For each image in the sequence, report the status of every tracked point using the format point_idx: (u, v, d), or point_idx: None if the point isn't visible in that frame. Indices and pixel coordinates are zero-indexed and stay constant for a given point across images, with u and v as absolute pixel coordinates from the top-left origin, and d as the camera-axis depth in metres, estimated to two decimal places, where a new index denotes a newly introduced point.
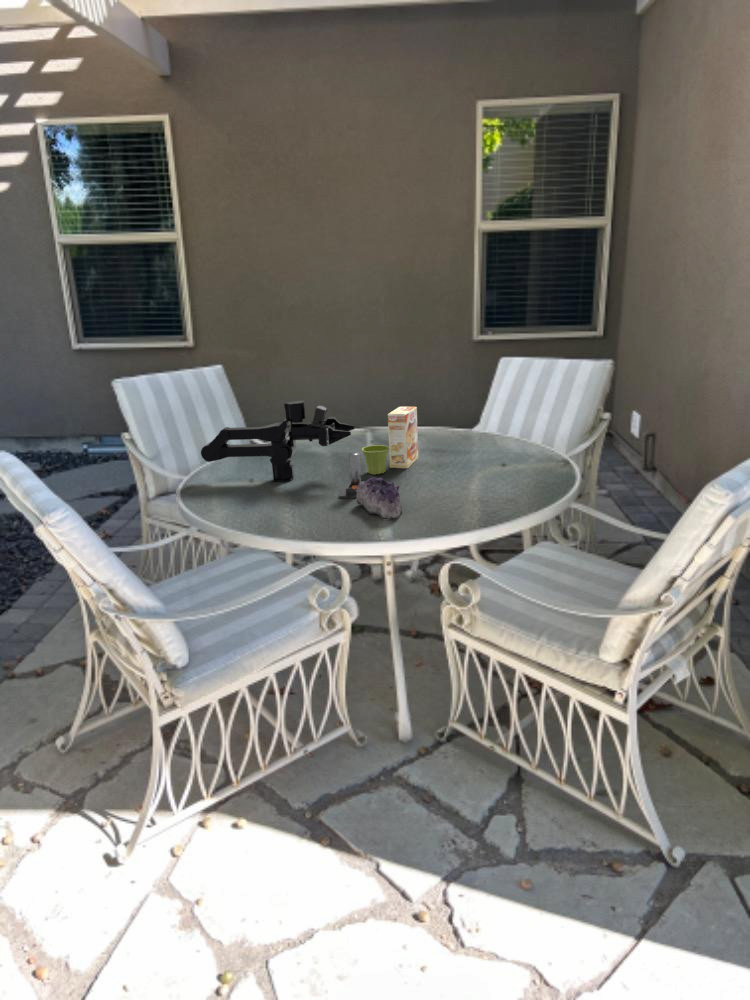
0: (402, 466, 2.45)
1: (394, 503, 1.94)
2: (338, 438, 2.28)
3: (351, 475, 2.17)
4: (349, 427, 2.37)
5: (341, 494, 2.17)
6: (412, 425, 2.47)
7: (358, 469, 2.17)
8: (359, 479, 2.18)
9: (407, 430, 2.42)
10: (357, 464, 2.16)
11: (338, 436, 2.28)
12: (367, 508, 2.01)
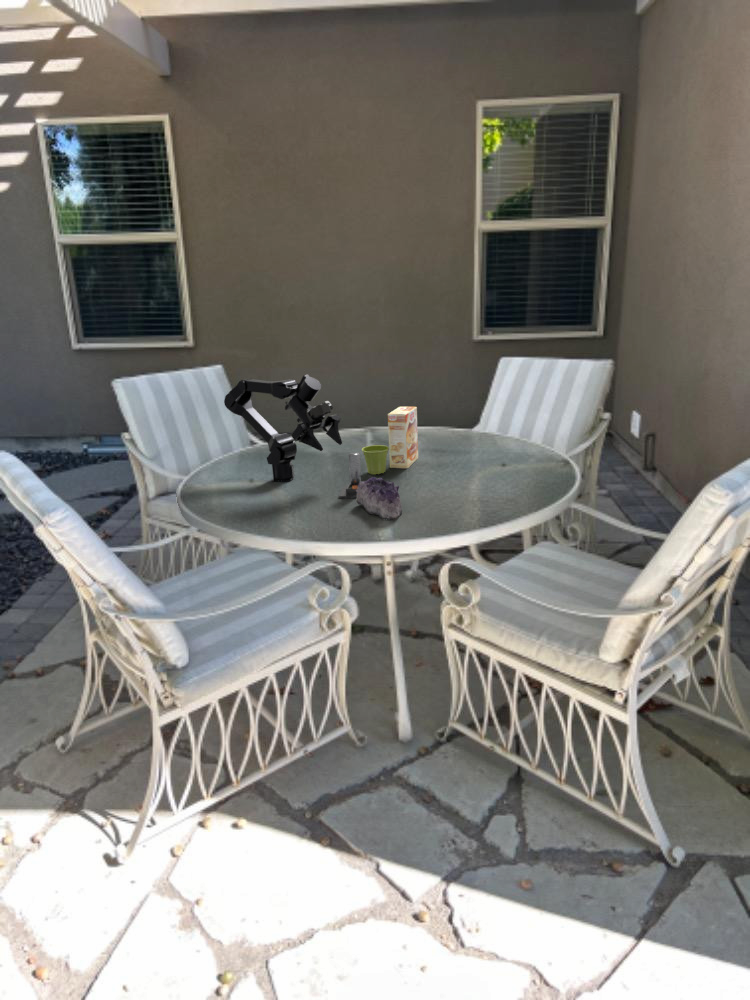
0: (402, 466, 2.45)
1: (394, 503, 1.94)
2: (310, 444, 2.20)
3: (351, 475, 2.17)
4: (338, 439, 2.26)
5: (341, 494, 2.17)
6: (412, 425, 2.47)
7: (358, 469, 2.17)
8: (359, 479, 2.18)
9: (407, 430, 2.42)
10: (357, 464, 2.16)
11: (311, 442, 2.19)
12: (367, 508, 2.01)
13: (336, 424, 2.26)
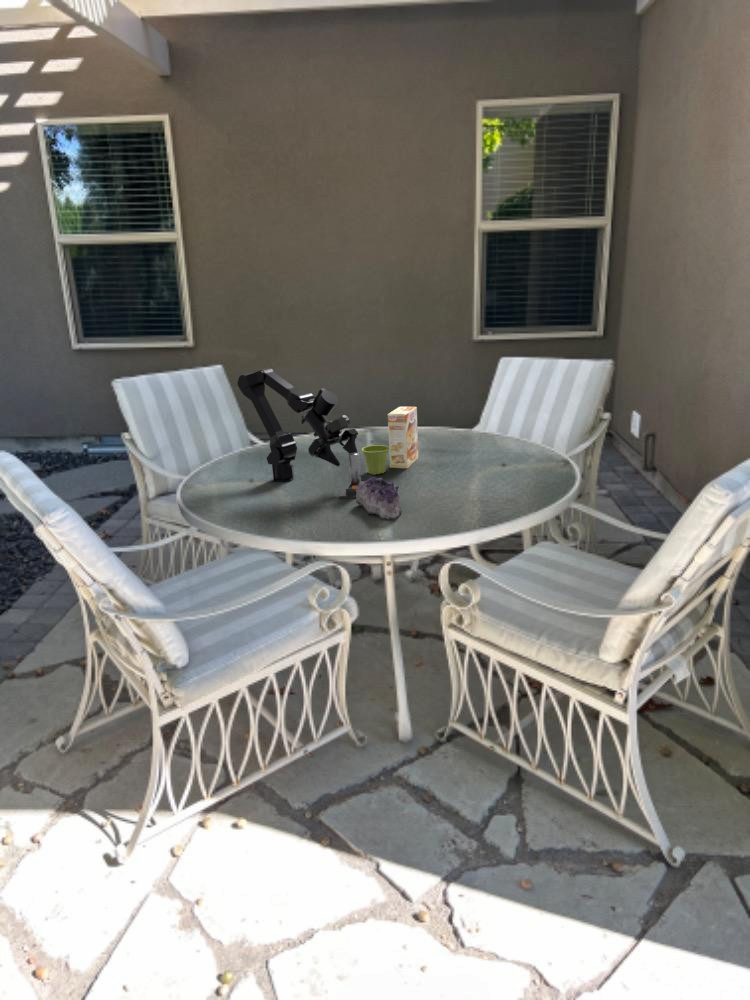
0: (402, 466, 2.45)
1: (393, 503, 1.94)
2: (327, 459, 2.16)
3: (351, 475, 2.17)
4: None
5: (341, 494, 2.17)
6: (412, 425, 2.47)
7: (358, 469, 2.17)
8: (359, 479, 2.18)
9: (407, 430, 2.42)
10: (357, 464, 2.16)
11: (328, 458, 2.16)
12: (366, 508, 2.01)
13: (353, 438, 2.23)
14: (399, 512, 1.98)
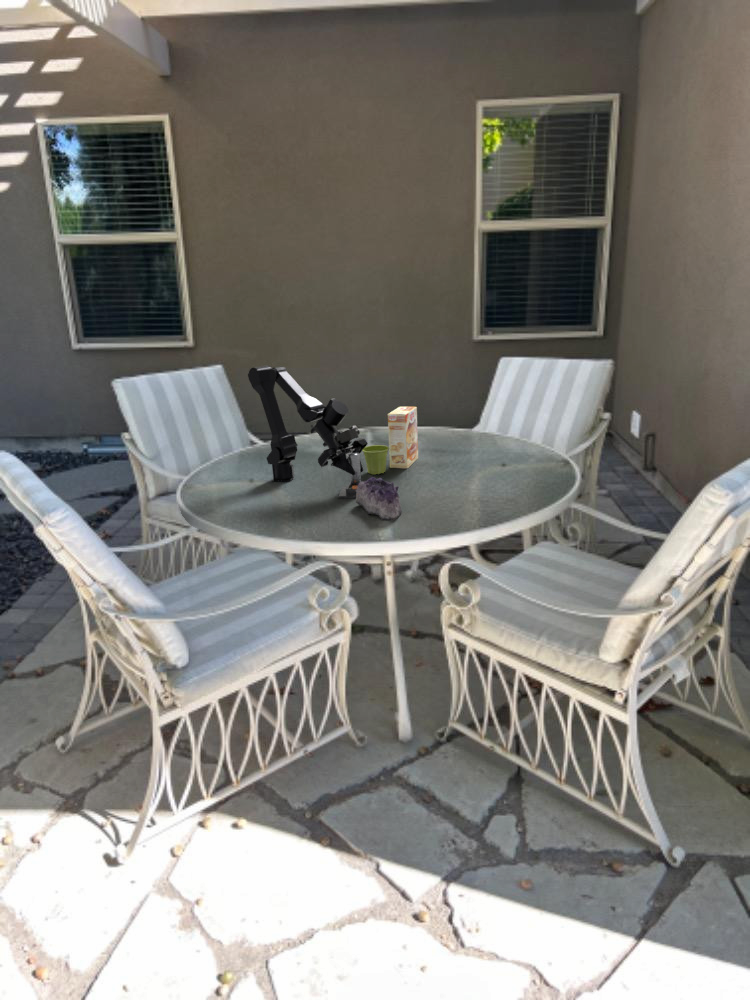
0: (402, 466, 2.45)
1: (393, 503, 1.94)
2: (342, 468, 2.17)
3: (351, 475, 2.17)
4: None
5: (341, 494, 2.17)
6: (412, 425, 2.47)
7: (358, 469, 2.17)
8: (359, 479, 2.18)
9: (407, 430, 2.42)
10: (357, 464, 2.16)
11: (344, 466, 2.16)
12: (366, 508, 2.01)
13: (357, 451, 2.19)
14: (399, 512, 1.98)
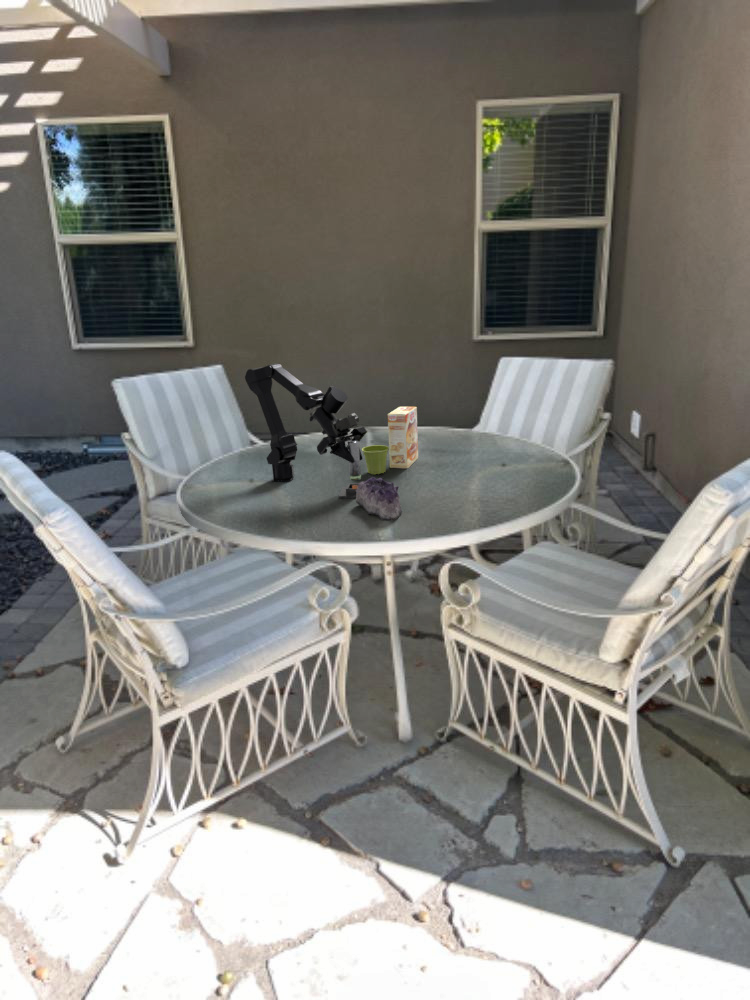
0: (402, 466, 2.45)
1: (393, 503, 1.94)
2: (341, 455, 2.15)
3: (350, 463, 2.16)
4: None
5: (341, 494, 2.17)
6: (412, 425, 2.47)
7: (357, 457, 2.15)
8: (358, 467, 2.16)
9: (407, 430, 2.42)
10: (356, 452, 2.15)
11: (343, 454, 2.15)
12: (366, 508, 2.01)
13: (356, 439, 2.18)
14: (399, 512, 1.98)
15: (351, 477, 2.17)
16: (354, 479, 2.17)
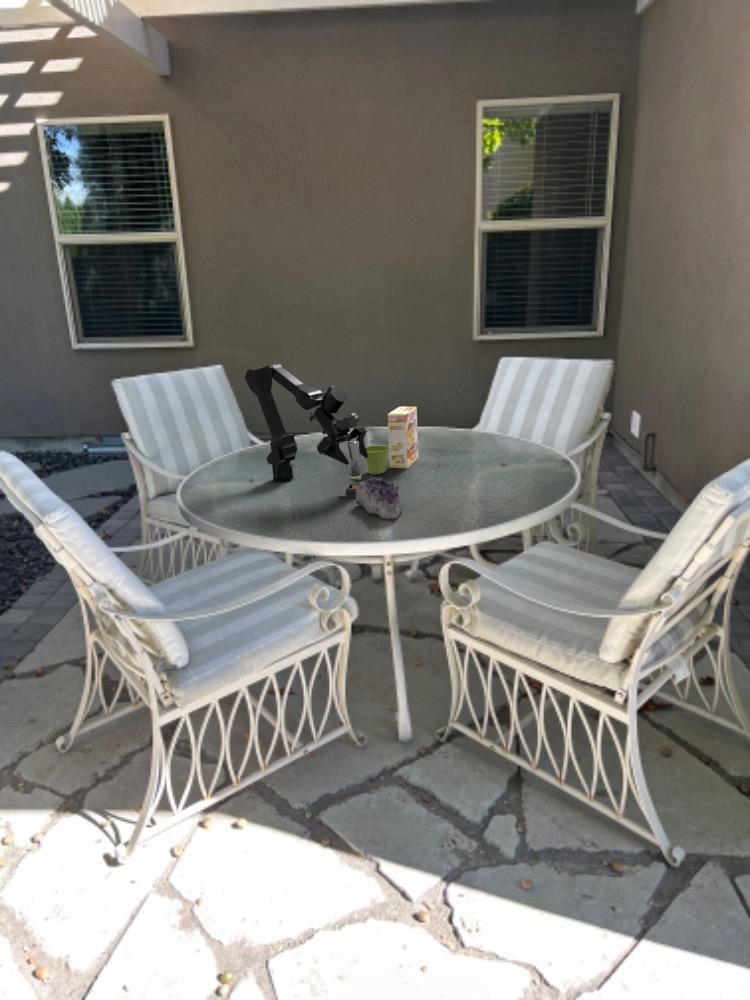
0: (402, 466, 2.45)
1: (393, 503, 1.94)
2: (335, 457, 2.13)
3: (350, 463, 2.16)
4: (363, 452, 2.19)
5: (341, 494, 2.17)
6: (412, 425, 2.47)
7: (357, 457, 2.15)
8: (358, 467, 2.16)
9: (407, 430, 2.42)
10: (356, 452, 2.15)
11: (337, 456, 2.13)
12: (366, 508, 2.01)
13: (362, 437, 2.20)
14: (399, 512, 1.98)
15: (351, 477, 2.17)
16: (354, 479, 2.17)
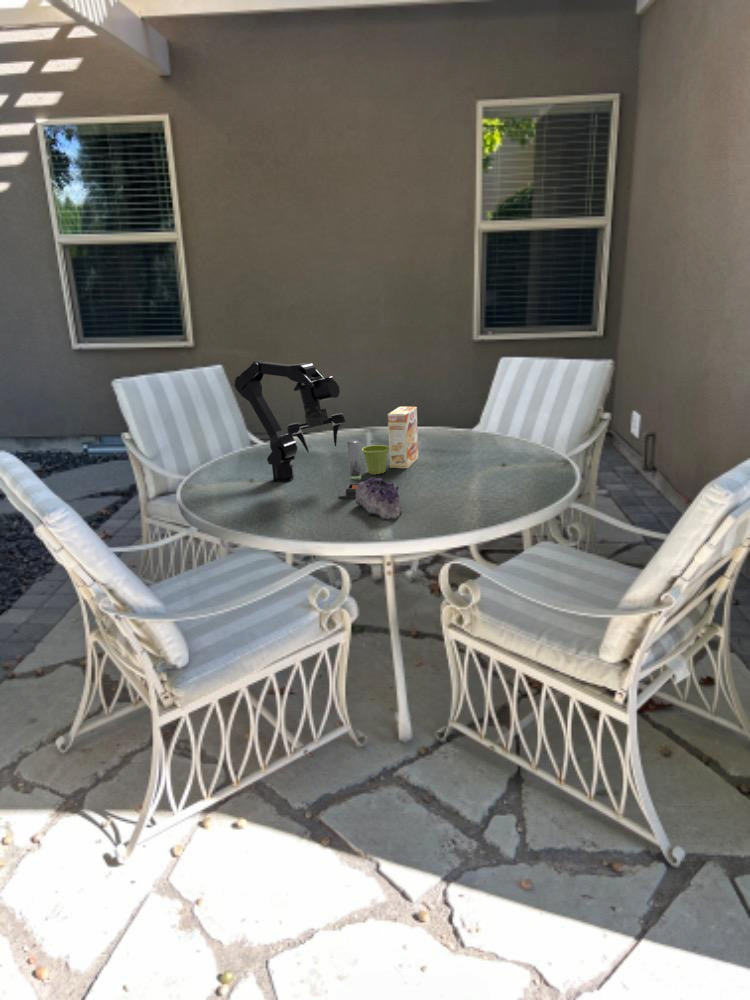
0: (402, 466, 2.45)
1: (393, 504, 1.94)
2: None
3: (350, 463, 2.16)
4: None
5: (341, 494, 2.17)
6: (412, 425, 2.47)
7: (357, 457, 2.15)
8: (358, 467, 2.16)
9: (407, 430, 2.42)
10: (356, 452, 2.15)
11: None
12: (366, 508, 2.01)
13: (335, 427, 2.24)
14: (399, 512, 1.97)
15: (351, 477, 2.17)
16: (354, 479, 2.17)
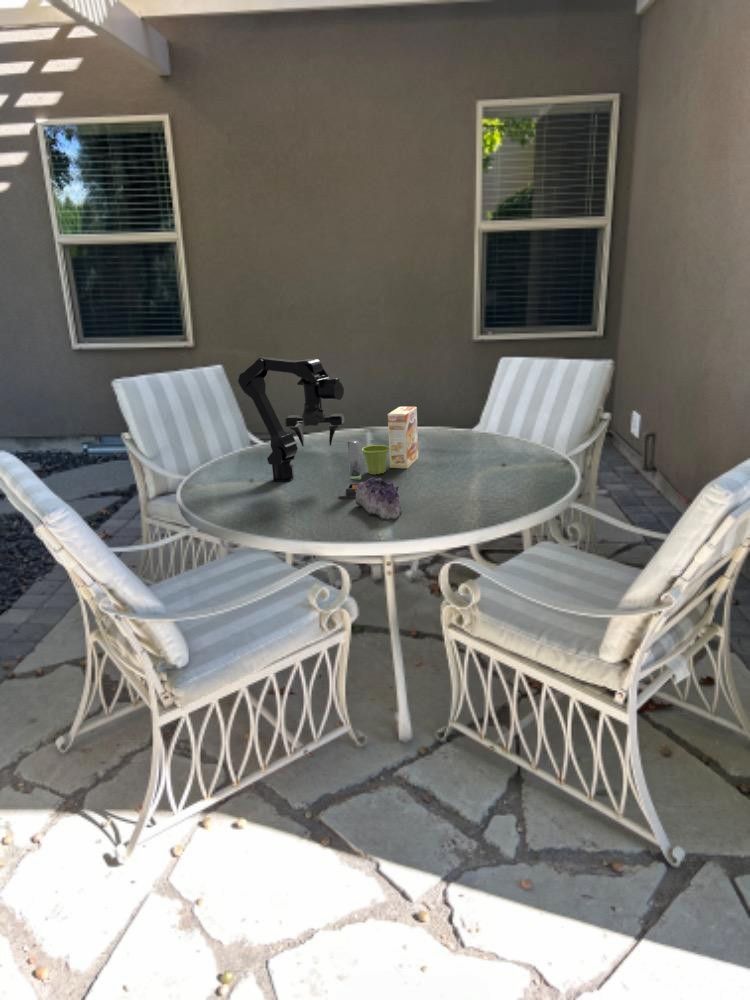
0: (402, 466, 2.45)
1: (393, 504, 1.94)
2: None
3: (350, 463, 2.16)
4: None
5: (341, 494, 2.17)
6: (412, 425, 2.47)
7: (357, 457, 2.15)
8: (358, 467, 2.16)
9: (407, 430, 2.42)
10: (356, 452, 2.15)
11: None
12: (366, 509, 2.01)
13: (332, 428, 2.24)
14: (399, 512, 1.97)
15: (351, 477, 2.17)
16: (354, 479, 2.17)
